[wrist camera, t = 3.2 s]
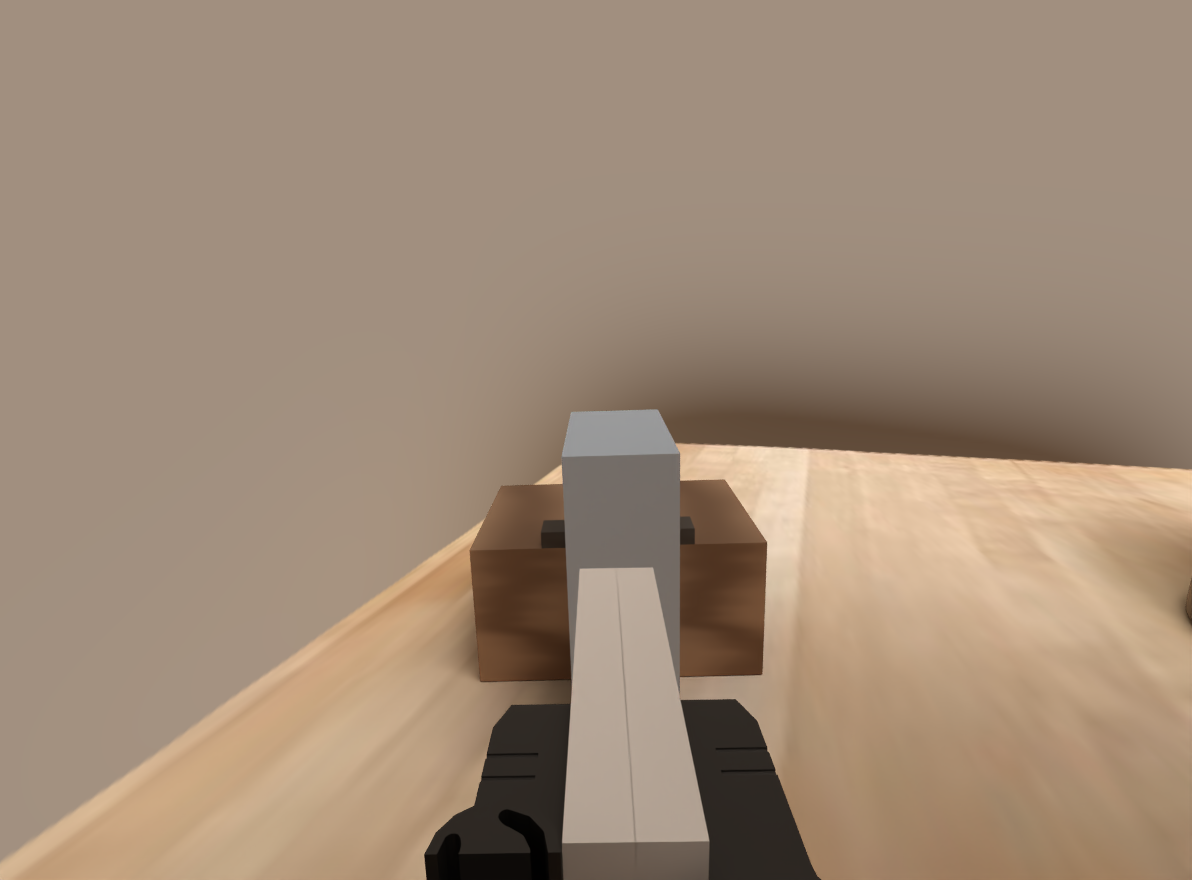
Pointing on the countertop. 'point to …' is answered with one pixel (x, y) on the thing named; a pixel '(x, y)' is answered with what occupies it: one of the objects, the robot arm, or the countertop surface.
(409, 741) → the countertop surface
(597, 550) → the peg
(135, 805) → the countertop surface
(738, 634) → the socket block
